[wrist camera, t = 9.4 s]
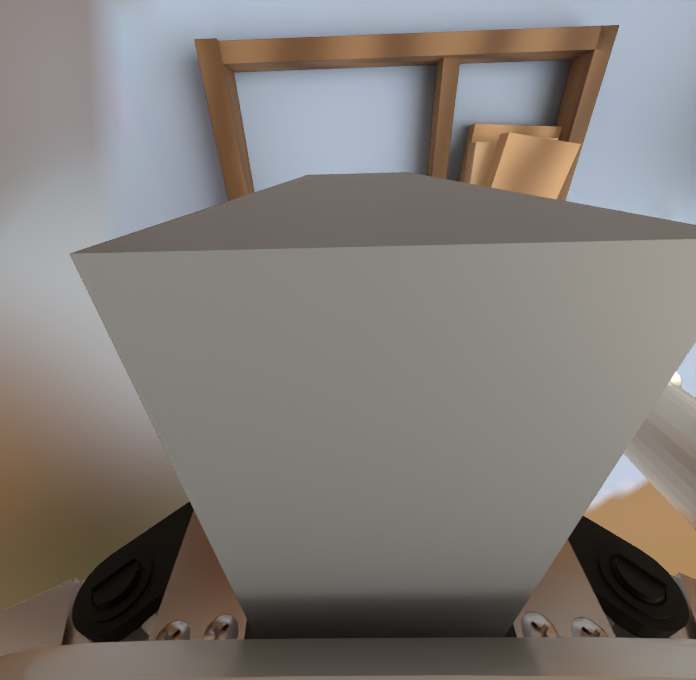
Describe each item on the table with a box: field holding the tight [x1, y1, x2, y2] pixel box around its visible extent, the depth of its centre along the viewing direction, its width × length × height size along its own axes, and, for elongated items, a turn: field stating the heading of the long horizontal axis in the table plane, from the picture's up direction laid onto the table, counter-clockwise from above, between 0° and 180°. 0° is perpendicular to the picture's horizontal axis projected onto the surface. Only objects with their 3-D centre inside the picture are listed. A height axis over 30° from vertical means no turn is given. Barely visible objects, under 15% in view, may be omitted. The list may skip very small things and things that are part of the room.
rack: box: [194, 25, 619, 201], centre depth 28 cm, size 29×24×3 cm
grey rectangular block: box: [70, 172, 696, 639], centre depth 8 cm, size 3×12×9 cm, turn 1°
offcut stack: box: [459, 124, 581, 199], centre depth 27 cm, size 7×13×5 cm, turn 178°
